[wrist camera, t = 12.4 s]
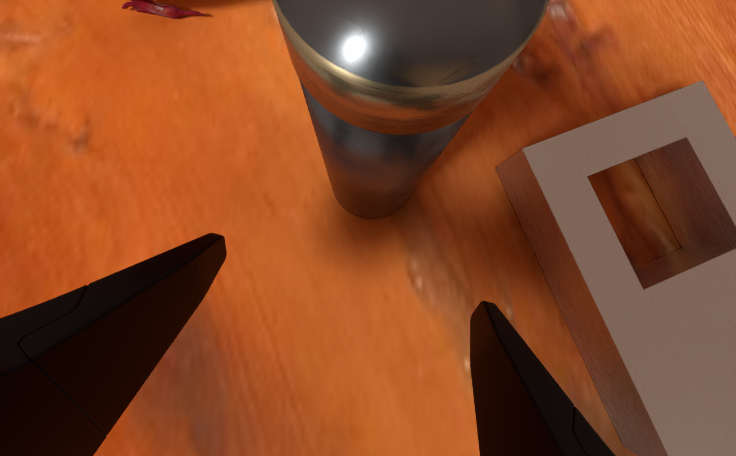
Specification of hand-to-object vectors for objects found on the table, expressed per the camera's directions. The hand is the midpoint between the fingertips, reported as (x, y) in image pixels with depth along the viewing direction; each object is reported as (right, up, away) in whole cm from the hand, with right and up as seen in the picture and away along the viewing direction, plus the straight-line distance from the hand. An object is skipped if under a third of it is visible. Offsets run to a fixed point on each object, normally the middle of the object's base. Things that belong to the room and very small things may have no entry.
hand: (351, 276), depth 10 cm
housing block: (+17, -1, +8) cm, 19 cm away
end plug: (+1, +5, +8) cm, 9 cm away
